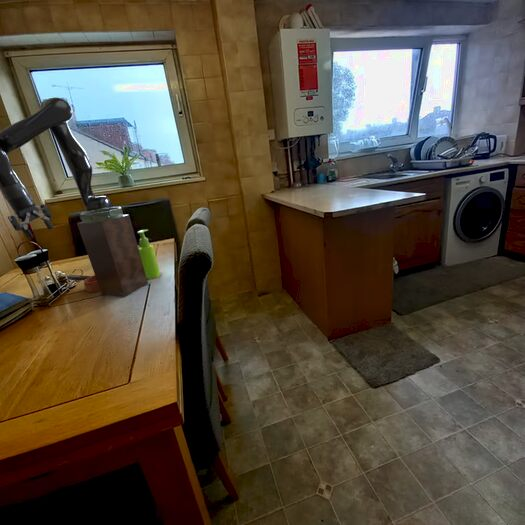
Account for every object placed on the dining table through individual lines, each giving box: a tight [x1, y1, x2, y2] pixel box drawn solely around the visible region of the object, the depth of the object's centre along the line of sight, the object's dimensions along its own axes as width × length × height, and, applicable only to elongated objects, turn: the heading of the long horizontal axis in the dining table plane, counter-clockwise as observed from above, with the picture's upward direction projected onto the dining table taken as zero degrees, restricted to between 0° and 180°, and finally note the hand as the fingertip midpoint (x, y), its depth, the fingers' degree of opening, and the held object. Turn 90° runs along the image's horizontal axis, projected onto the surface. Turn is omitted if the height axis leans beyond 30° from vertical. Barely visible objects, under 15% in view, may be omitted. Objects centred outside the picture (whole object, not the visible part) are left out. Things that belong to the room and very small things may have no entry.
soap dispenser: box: [137, 228, 161, 280], centre depth 116 cm, size 6×7×20 cm
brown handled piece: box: [66, 274, 101, 293], centre depth 116 cm, size 9×22×4 cm, turn 69°
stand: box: [76, 206, 149, 298], centre depth 104 cm, size 13×13×31 cm
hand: (41, 233), depth 117 cm, fingers open, 8 cm apart
